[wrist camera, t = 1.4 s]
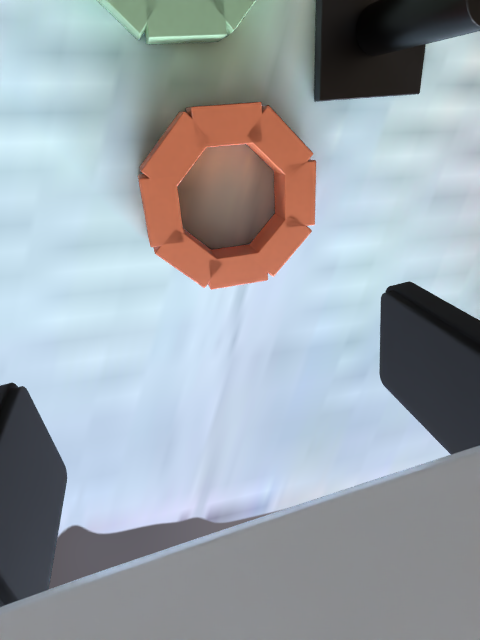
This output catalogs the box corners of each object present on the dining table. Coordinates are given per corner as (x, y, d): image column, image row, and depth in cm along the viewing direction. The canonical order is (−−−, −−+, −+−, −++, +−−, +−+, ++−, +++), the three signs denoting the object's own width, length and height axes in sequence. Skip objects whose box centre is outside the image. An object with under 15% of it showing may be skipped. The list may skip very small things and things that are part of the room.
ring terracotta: (156, 286, 32) (159, 298, 30) (126, 111, 26) (127, 111, 24) (302, 263, 35) (313, 272, 33) (303, 99, 29) (317, 97, 27)
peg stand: (313, 101, 29) (407, 93, 20) (316, -43, 25) (433, -139, 16) (411, 94, 31) (542, 83, 21) (427, -42, 27) (593, -129, 17)
